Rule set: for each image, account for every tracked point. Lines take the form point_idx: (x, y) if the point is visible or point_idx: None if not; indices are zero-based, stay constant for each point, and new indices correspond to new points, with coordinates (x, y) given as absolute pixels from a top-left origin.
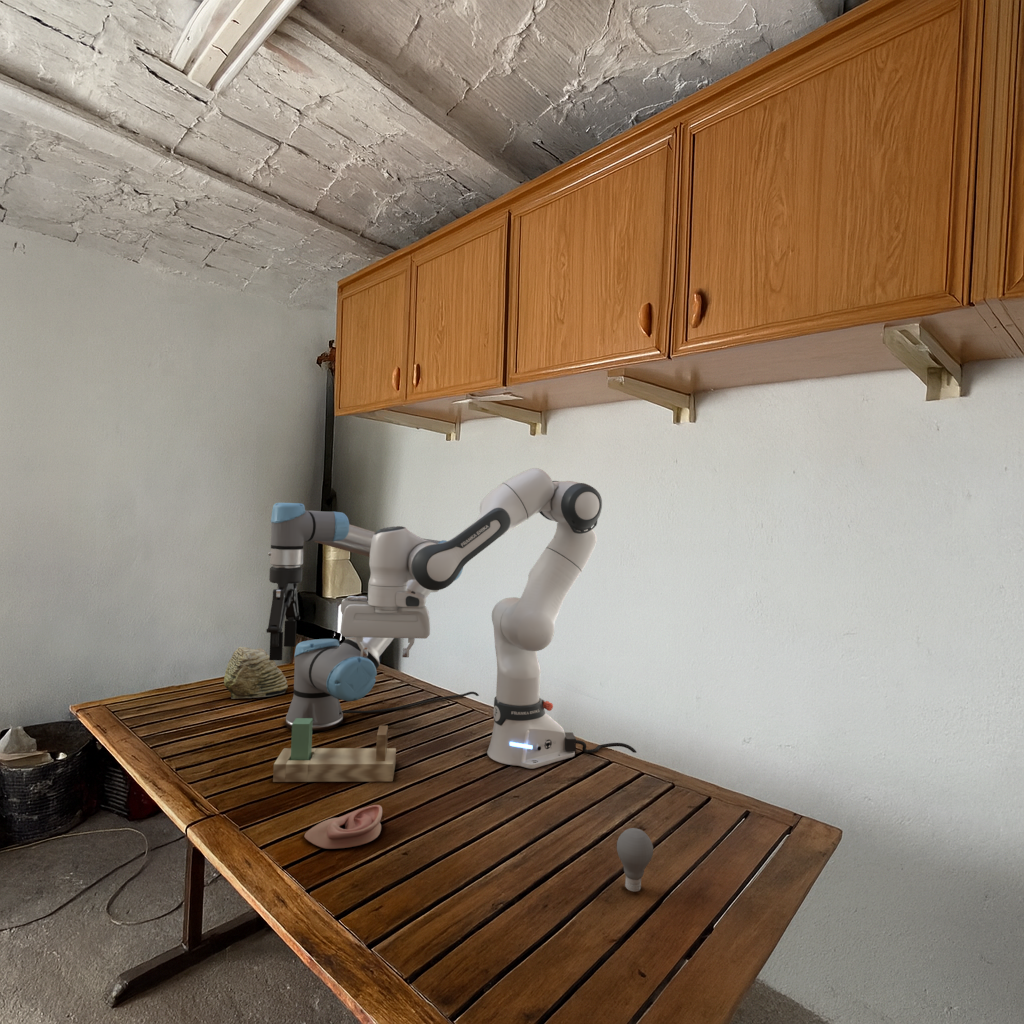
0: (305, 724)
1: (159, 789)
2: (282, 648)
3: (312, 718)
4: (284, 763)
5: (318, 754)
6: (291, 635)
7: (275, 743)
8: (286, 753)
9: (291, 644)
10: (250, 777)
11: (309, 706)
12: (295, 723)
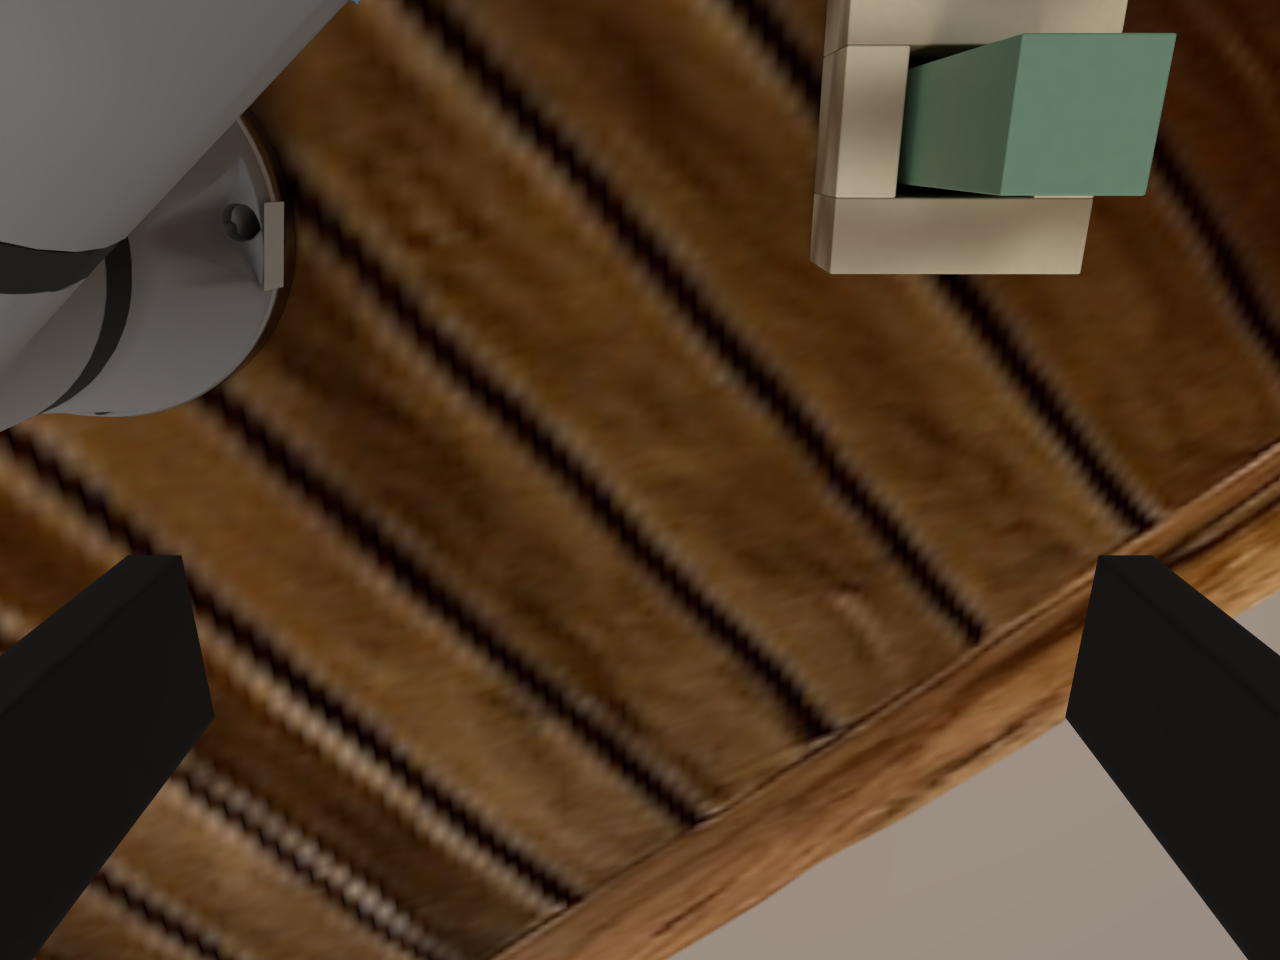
0: (1167, 71)
1: (1022, 726)
2: (1224, 657)
3: (1028, 34)
4: (1083, 208)
5: (966, 2)
6: (70, 739)
7: (490, 383)
8: (922, 234)
9: (174, 628)
10: (953, 393)
11: (172, 243)
12: (1141, 167)
